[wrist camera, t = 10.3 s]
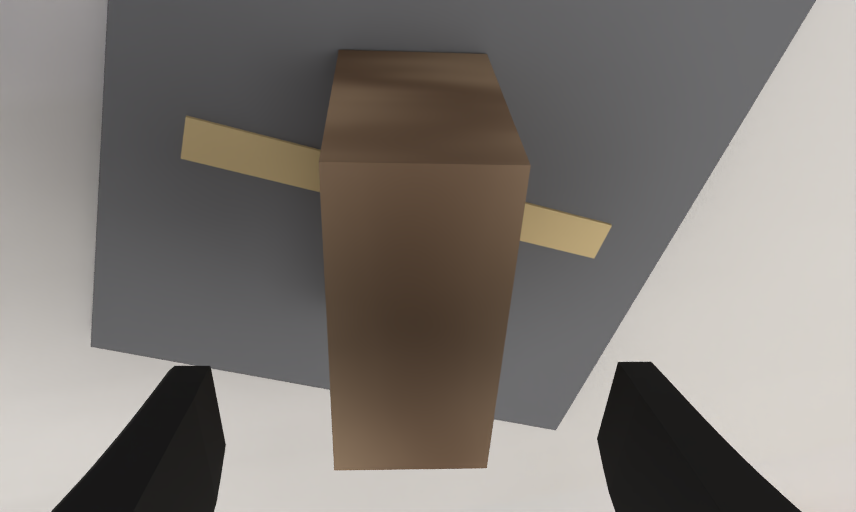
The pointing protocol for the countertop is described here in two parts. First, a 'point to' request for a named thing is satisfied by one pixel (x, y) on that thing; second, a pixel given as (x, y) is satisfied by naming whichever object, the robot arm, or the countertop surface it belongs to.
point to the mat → (301, 144)
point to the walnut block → (417, 255)
